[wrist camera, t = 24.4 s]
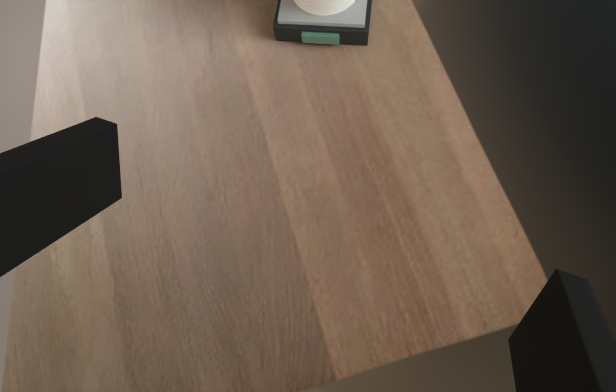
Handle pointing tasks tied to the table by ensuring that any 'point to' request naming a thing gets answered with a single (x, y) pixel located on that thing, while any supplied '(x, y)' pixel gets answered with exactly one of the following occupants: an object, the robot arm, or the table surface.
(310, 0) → the cup
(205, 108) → the table surface
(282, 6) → the scale
